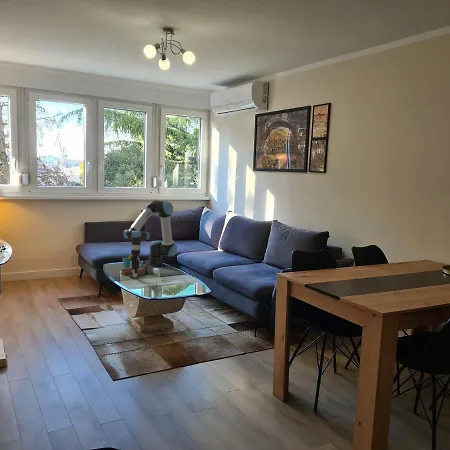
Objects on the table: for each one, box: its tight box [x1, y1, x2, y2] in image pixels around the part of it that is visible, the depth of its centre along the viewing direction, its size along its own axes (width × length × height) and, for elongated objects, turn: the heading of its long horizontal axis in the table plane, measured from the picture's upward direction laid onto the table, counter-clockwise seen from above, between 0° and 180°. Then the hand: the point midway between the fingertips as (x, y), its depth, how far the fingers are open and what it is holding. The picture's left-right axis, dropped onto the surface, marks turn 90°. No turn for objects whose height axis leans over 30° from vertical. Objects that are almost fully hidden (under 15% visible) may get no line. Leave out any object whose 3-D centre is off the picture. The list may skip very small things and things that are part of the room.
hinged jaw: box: [128, 268, 147, 278], centre depth 381 cm, size 18×3×5 cm, turn 148°
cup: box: [117, 253, 133, 268], centre depth 398 cm, size 14×8×15 cm, turn 115°
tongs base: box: [120, 266, 148, 276], centre depth 387 cm, size 24×6×5 cm, turn 129°
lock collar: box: [141, 260, 154, 274], centre depth 393 cm, size 6×10×10 cm, turn 39°
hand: (134, 276), depth 372 cm, fingers closed
